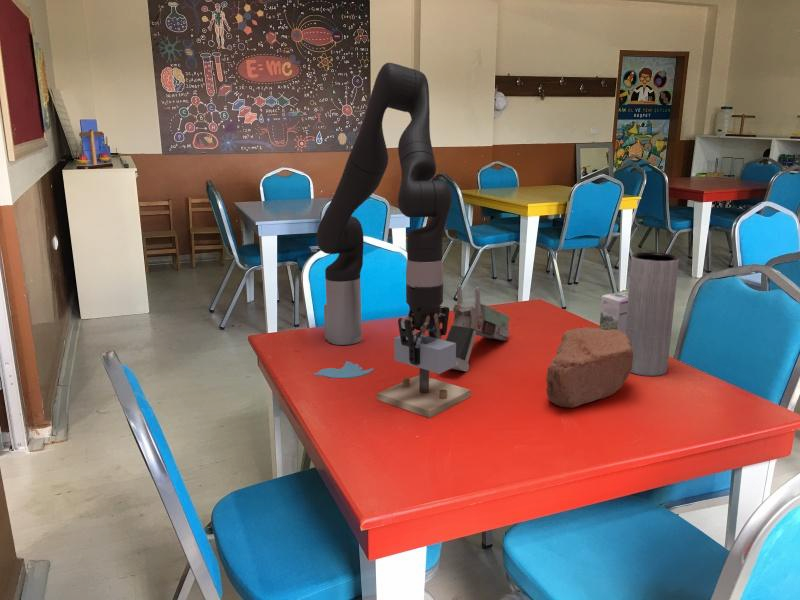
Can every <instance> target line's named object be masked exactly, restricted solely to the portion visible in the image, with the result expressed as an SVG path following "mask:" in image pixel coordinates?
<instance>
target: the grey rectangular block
mask: <svg viewBox="0 0 800 600" xmlns="http://www.w3.org/2000/svg"><path fill="white" fill-rule="evenodd" d="M406 340H408V338H407V337H406ZM414 341H416V336H414ZM393 342H394V343H393V344H394V345H393V346H394V347H393V348H394V351H393V352H394V355H393V357H394V358H393V360H394V361H395V362H399V363H402V364H406V365H409V366H412V367H415V368H418V369H419V368H422V369H425V370H428V371H429V372H432V373H434V374H438V375H440V374H442V373H444V372H446V371H449V370H452V369H451V368H453V367H455V366H456V343H453V342H449V341H446V339H442V338H441V339H438V338H434V337H430V336H429V335H424V337H423V338H422V339H421V343H420V347H419V348H420V364H419V365H413V364H411V363H410V361H409V347H408V346H404V345H402V344H401V339H400V335H397V336H396V337H394V338H393Z"/></svg>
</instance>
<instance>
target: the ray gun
mask: <svg viewBox="0 0 800 600" xmlns="http://www.w3.org/2000/svg"><path fill="white" fill-rule="evenodd" d="M480 290H481V289H480V287H479V286H477V287H475V288H474V291H475V293H474V294H475V296H474V299H475V301H474V302H464V301H463V289H462V284H459V285H458V286H457V287H456V296H457V297H456V299H457V300H456V303H457V304H455V303H454V305H453V307H452V310H453V315H454V317H453V318H454V319H453V324H451V326H450V329H449V331H448V332H447V333H448V334H447V336H446V338H445V341H449V342H453V343H456V366H455V367H453V368H451V369H450V370H455V371H461V372H468V371H469V369H470V364H469V360H470V357H471V354H472V349H473V345H474V342H475V339H476V336H479V337H482V338H483V339H484V338H485V339H488V340H489V339H490V340H497V341H503V342H506V341H507V340H508V339H509V335H510V330H509V324H510V316H509V315H507V314H505V313H503V312H501V311H499V310H496V309H494V308H492V307H490V306H488V305H486V304H482V303H481V291H480Z"/></svg>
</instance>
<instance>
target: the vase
mask: <svg viewBox="0 0 800 600" xmlns="http://www.w3.org/2000/svg"><path fill="white" fill-rule="evenodd" d="M679 259H680V258H679V257H678V256H677V255H674V254H669V253H664V252H663V253H662V252H647V251H646V252H636V253H633V254H632V255H631V260H630V269H629V271H630V272H629V281H628V283H629V284H628V294H627V296H628V304H627V315H626V327H625V334H626V335H627V336H628V337H629V339H630V342H631V347H632V351H633V362H632V370H631V372H630V374H634V375H638V376H645V377H646V376H647V377H658V376H662V375H664V374H666V373H667V372H668V366H669V360H670V359H669V357H670V349H671V337H672V328H673V318H674V311H675V300H676V291H677V290H676V289H677V281H678V280H677V279H678V273H679V272H678V270H679V262H680V260H679Z"/></svg>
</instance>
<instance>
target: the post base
mask: <svg viewBox="0 0 800 600" xmlns="http://www.w3.org/2000/svg"><path fill="white" fill-rule="evenodd" d="M418 370H419V372H418V373H419V374H418V375H416V376H413V377H411V378H408V377H404V378H403V377H402V380H401V382H400V383H397V384H395V385H392V386H390V387H388V388H386V389H384V390H381V391H379V392H377V394H376V400H377V401H380V402H382V403H386V404H388V405H391V406H394V407H397V408H398V409H399V408H400V409H403V410H405V411H409V412H411V413H413V414H417V415H420V416H423V417H425V418H428V419H431V418H432V417H436V416H437V415H438V414H441V413H442V412H445V411H447V410H448V409H450V408H451V407H453V406H456V405H457V404H460V403H461V402H463V401H465V400H467V399H469V398H470V397H471V394H472V393H471V391H472V390H471V389H469V388H466V387H461V386H458V385H455V384H452V383H448V382H446V381H441V380H439V379H436V378H431V377H430V371H428V370H425V369H422V368H418Z"/></svg>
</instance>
